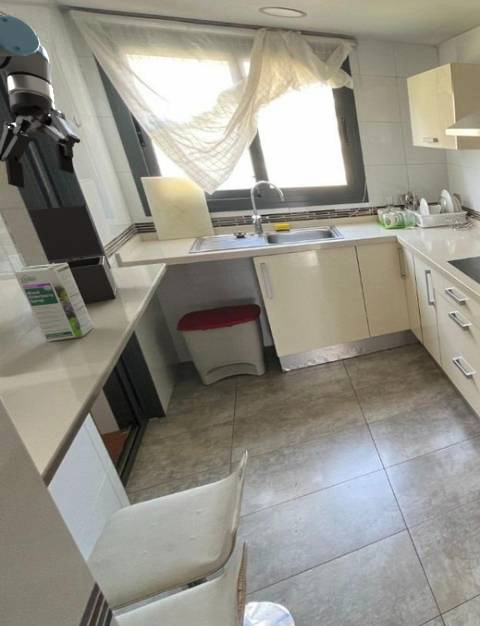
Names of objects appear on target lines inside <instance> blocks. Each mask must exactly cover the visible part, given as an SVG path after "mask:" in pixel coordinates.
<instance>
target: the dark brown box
mask: <svg viewBox="0 0 480 626" xmlns="http://www.w3.org/2000/svg"><path fill="white" fill-rule="evenodd" d="M61 263H67V264H68V266H69V268H70V271H71V273H72V275H73V278H74V280H75V283H76V285H77V287H78V290H79V292H80V295H81V297H82V299H83V302H84V304H90V303H91V302H92V303H96V302H95V301H98V302H102V301H101V300H103V301H108V299H109V300H115V299H116V298H117V284H116V282H115V279H114V277H113V274H112V272H111V269H110V267H109V264H108V261H107V259H106V256H105V255H100V256H99V255H98V256H93V257H83V258H76V259H68V260H62V261H61V260H60V261H56V262H55V261H54V262H49V263H48V265H50V264H61ZM92 303H91V304H92Z"/></svg>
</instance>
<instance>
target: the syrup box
mask: <svg viewBox="0 0 480 626" xmlns="http://www.w3.org/2000/svg"><path fill="white" fill-rule="evenodd" d="M14 276H15V277H16V280H17V282H18V285H19V286H20V288H21V290H22V293H23V294H24V297H25V299H26V301H27V303H28V305H29V307H30V309H31V311H32V314H33V316H34V318H35V320H36V322H37V324H38V327H39V329H40V331H41V334H42V336H43V338H44V340H45V342H46V343H50V342H56V341H63V340H70V339H78V338H83V337H84V336H86V335H87V334H88V333H89V332H90V331H92V330H93V329H94V323H93V321H92V319H91V316H90V314H89V312H88V309H87V307H86V305H85V304H84V302H83V299H82V297H81V295H80V292H79V290H78V287H77V285H76V283H75V280H74V278H73V275H72V273H71V271H70V268H69V266H68V264H67V263H61V264H50V265H49V264H40V265H30V266H25V267H23V268H20V269H18V270H17V271H15V272H14Z"/></svg>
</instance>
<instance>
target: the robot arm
mask: <svg viewBox="0 0 480 626" xmlns="http://www.w3.org/2000/svg"><path fill="white" fill-rule="evenodd" d="M38 36H39V35H38V34H37V33H36V31H35V30H34V29H33V28H32V27H31V26H30V24H28V23H27V22H25V21H24V20H23V19H20V18H18V17H15V16H11V15H2V14H1V15H0V71H2V72H5V75H6V82H7V83H6V85H7V93H8V99H9V109H10V111H11V112H12V113H13V114H14V116H15V118H16V119H15V122H9V121H4V122H3V132H2V135H1V138H0V162H2V163H4V168H5V169H4V170H5V174H6V176H7V184H8V185H10V186H13V187H16V188H20V189H24V188H25V186H26V185H25V178H24V177H25V176H24V170H23V163H22V162H20V161H21V158H22V157H23V155H24V154H25V151H26V150H27V148H28V146H29V145H30V143H31V142H34V141H35V139H36V138H38V137H40V136H45V135H49V137H51V138H53V139H54V140H55V142H56V143H55V152H56V158H57V159H56V160H57V168H58V170H60V171H63V172H66V173H68V174H74V173H75V171H74V163H73V158H74V150H73V148H74V147H75V144H80V143H81V139H80V137H79V136H78V135H77V133H76V132H75V130H74V129H73V128H72V126H71V125H70V123H69V122H68V121H67V119H66V114H65V113H64V112H62V111H60V110H58V109H56V107H55V104H54V101H55V99H54V93H53V84H52V76H51V75H52V74H51V63H50V59H49V56H48V53H47V50H46V49H45V47H44V46H43V45H41V43H40V39H39V37H38ZM53 123H54V125H55V126H56V127H57V128H56V127H54V126H53V125H52V124H53ZM22 133H23V134H22Z"/></svg>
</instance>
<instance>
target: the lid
mask: <svg viewBox="0 0 480 626" xmlns="http://www.w3.org/2000/svg"><path fill="white" fill-rule="evenodd" d="M27 211H28V213H29V216H30V219H31V221H32V223H33V226H34V229H35V231H36V234H37V236H38V239H39V241H40V244H41V247H42V249H43V252H44V254H45V257H46V259H47V262H52V261H54V262H55V261H61V260H70V259H78V258H86V257H91V256H99V255H100V256H101V255H104V254H105V253H104V251H103V248H102V245H101V243H100V240H99V237H98V234H97V231H96V229H95V226H94V224H93V220H92V217H91V216H90V215H91V214H90V213H89V209H88V207H87V205H74V206H73V205H72V206H61V207H60V206H59V207H47V208H35V209H28V210H27Z"/></svg>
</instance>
